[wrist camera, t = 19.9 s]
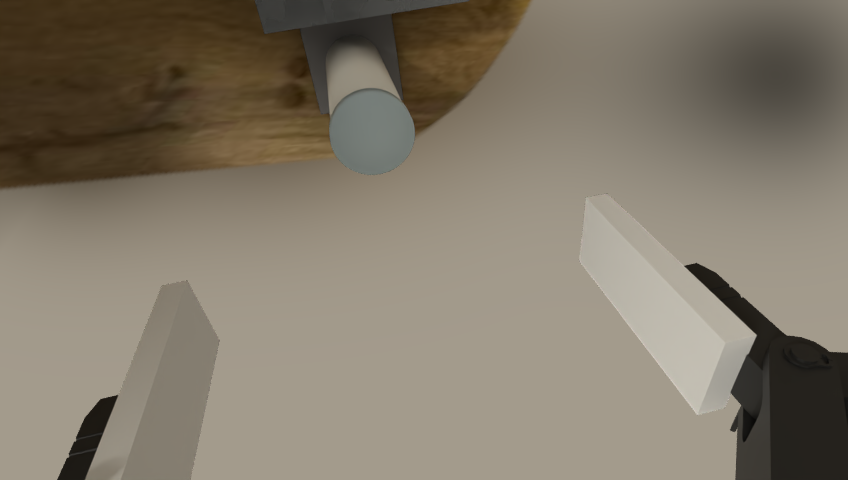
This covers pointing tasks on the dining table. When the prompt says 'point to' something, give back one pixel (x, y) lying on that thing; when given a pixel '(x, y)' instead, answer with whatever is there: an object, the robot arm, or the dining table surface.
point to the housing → (331, 11)
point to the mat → (369, 28)
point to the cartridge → (365, 109)
